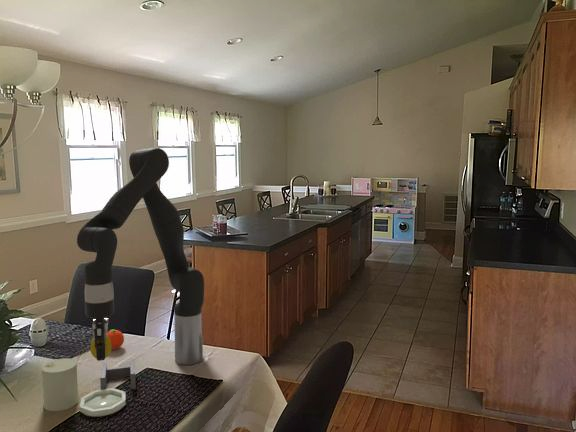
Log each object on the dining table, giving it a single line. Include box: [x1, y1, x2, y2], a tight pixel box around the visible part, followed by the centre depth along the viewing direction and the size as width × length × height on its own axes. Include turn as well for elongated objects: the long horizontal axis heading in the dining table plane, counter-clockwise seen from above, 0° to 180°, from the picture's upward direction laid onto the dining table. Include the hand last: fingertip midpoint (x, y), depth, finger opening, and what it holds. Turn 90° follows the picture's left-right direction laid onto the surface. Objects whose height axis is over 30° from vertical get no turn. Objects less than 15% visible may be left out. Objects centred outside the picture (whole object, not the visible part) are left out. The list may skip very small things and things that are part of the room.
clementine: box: [107, 329, 125, 350], centre depth 173 cm, size 8×7×7 cm
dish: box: [79, 387, 126, 418], centre depth 135 cm, size 12×12×2 cm
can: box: [41, 357, 80, 412], centre depth 135 cm, size 9×9×12 cm
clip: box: [99, 358, 137, 390], centre depth 147 cm, size 10×11×5 cm
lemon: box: [89, 334, 112, 359], centre depth 132 cm, size 6×6×8 cm
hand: (101, 355), depth 133 cm, fingers closed on lemon, 5 cm apart
